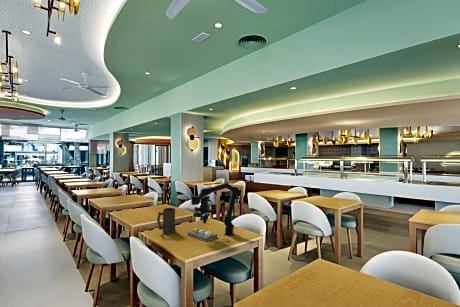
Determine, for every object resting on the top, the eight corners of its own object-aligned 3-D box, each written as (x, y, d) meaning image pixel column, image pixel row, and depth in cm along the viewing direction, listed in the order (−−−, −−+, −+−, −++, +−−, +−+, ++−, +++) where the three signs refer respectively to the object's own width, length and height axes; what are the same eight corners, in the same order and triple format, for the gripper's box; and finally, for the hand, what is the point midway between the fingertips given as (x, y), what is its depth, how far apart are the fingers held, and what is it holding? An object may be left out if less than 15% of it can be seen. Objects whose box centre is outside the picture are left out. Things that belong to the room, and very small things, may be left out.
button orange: (196, 232, 207) (197, 227, 207) (200, 233, 203) (200, 228, 203) (192, 233, 203) (192, 228, 203) (196, 235, 200) (196, 230, 200)
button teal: (202, 234, 202) (202, 229, 202) (206, 235, 199) (206, 230, 199) (197, 235, 198) (197, 230, 198) (201, 237, 195) (201, 232, 195)
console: (199, 231, 210) (199, 228, 210) (217, 237, 195) (217, 234, 195) (187, 235, 202) (187, 232, 202) (205, 241, 187) (205, 238, 187)
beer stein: (172, 229, 218) (171, 206, 217) (178, 232, 210) (177, 208, 209) (156, 234, 207) (154, 210, 206) (162, 237, 199) (160, 212, 199)
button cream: (208, 236, 197) (208, 231, 197) (212, 237, 194) (212, 232, 194) (203, 237, 194) (203, 232, 194) (207, 239, 190) (207, 233, 190)
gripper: (206, 201, 211) (206, 219, 211) (188, 204, 197) (188, 224, 197) (215, 202, 203) (215, 222, 203) (197, 206, 189) (198, 227, 189)
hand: (204, 223), depth 198 cm, fingers closed
